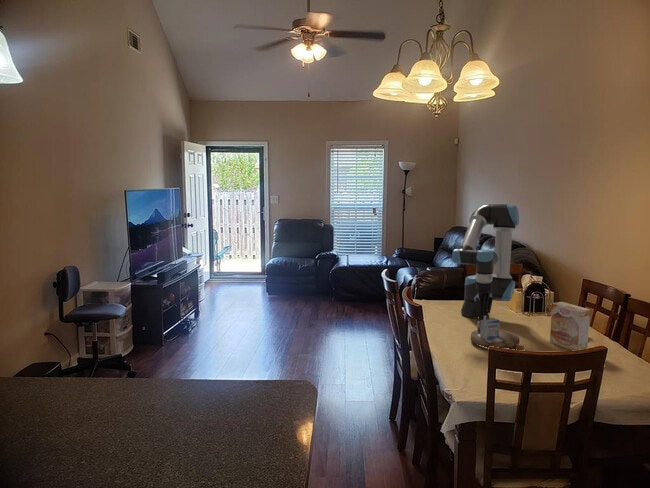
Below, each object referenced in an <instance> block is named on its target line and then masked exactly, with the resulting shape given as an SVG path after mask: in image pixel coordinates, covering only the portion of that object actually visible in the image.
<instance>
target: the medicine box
mask: <svg viewBox="0 0 650 488" xmlns="http://www.w3.org/2000/svg"><path fill="white" fill-rule="evenodd" d="M499 330H500V319H497V318H494V317H491V318H487V319H485V320H481V324H480V337H481V338H483V339H486V340H489V339H494V338H499Z"/></svg>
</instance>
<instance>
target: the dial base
mask: <svg viewBox="0 0 650 488" xmlns="http://www.w3.org/2000/svg"><path fill="white" fill-rule="evenodd" d="M487 348H488V347H487ZM524 348H525V346H524V345H523V344H520V343H519V344H516V347H514V348H509V349H511V350H513V349H515V350H516V349H517V350H524V351H525V349H524Z"/></svg>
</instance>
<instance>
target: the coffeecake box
mask: <svg viewBox="0 0 650 488" xmlns="http://www.w3.org/2000/svg"><path fill="white" fill-rule="evenodd" d="M550 314H551V316H550V332H549V333H550V335H549V343H551V344H553V345H557V346H559V347H562V348H565V349H567V350H570V351H572V350H579V349H586V348H589V347H588V345H589V335H590V333H589V331H590V320H591V319H590V318H591V316H590V315H591V309H589V308H586V307H582V306H579V305H575V304H571V303H569V302H565V301H557V302H552V303H551V313H550Z"/></svg>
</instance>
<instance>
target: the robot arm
mask: <svg viewBox="0 0 650 488" xmlns="http://www.w3.org/2000/svg"><path fill="white" fill-rule="evenodd" d="M468 223H469V225H468V227H467V229H466V232H465V234H464V237H463V238H462V241H461V243H460V246H459V248H455V249H453V251H452V254H451V259H452V263H454V264H460V265H471V266H476V272H475V274H472V275H469V276H466V277H465V279H464V281H465V282H464V300H463V305H462V307H461V310H460V315H461V314H462V315H461V316H463V315H465V316H468V317H467V318H469V317H479V318H478V319H479V321H480V322H481V320H485V319H488V317H489V315H490V313H491V309H492V306H493V305H492V303H493V301H501V302H509V301H511V300H512V299H513V296H514V293H515V287H516V282H515V280H513V277H512V275H511V273H510V272H511V270H510V269H511V255H512V244H513V243H512V242H513V241H512V240H513V239H512V238H513V232H514V231H515V230H516V226H517V227H518V226H519V224H520V214H519V209H518V207H517V205H516V204H503V203H502V204H497V203H495V204H494V203H493V204H492V203H488V204H484V205H482V206H480V207H478V208H477V209H475V210H474V212H473V213H472V214H471V216H470V217H469V220H468ZM487 225H492V227H493V229H494V230H495V237H494V238H495V240H494V242H495V243H494V250H493V249H479V250H477V249H476V247H477V245H478V243H479V240H480V237H481V235H482V232H483V229H484V228H485V227H486V226H487ZM465 316H464V317H465ZM487 316H488V317H487Z"/></svg>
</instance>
